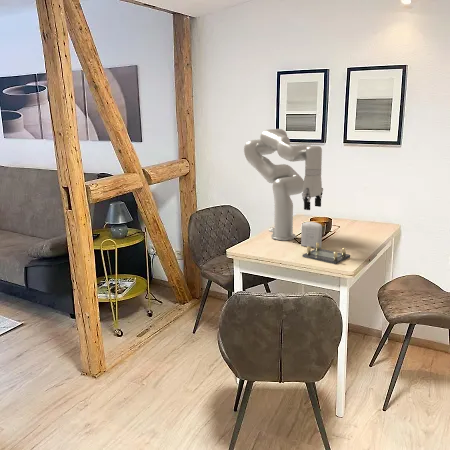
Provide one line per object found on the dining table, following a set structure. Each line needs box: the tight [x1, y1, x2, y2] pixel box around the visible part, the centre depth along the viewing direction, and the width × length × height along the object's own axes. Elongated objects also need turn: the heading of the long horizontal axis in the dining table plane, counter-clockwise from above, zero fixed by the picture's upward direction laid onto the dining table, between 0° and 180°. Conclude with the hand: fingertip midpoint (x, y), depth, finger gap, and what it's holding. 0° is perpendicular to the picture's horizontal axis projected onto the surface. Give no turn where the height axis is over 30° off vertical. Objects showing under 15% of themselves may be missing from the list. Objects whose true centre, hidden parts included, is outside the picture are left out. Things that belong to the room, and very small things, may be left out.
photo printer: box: [300, 221, 323, 249], centre depth 230 cm, size 10×4×12 cm, turn 56°
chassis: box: [302, 243, 351, 265], centre depth 214 cm, size 17×13×4 cm
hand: (312, 208), depth 226 cm, fingers open, 9 cm apart
